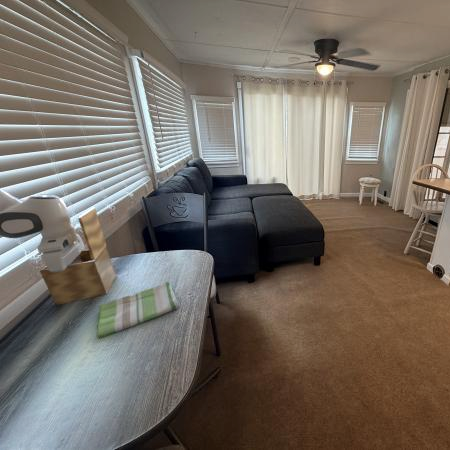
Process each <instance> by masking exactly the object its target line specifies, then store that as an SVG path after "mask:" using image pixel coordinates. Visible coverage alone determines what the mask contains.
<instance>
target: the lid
mask: <svg viewBox="0 0 450 450" xmlns="http://www.w3.org/2000/svg"><path fill="white" fill-rule="evenodd" d="M77 219H78V222H79V225H80V228H81V231H82V234H83V237H84V240H85V242H86V246H87V248H88V249H89V252H90V255H91V258H92V260H95V259H96V258H97V257H98V255H99V254H100V253H101V251H102V250H103V249H104V248H105V247H107V242H106V240H105V236H104V233H103V229H102V227H101V223H100V220H99V216H98V213H97V211H96V207H91V208H90V209H88V210H87V211H85V212H84V213H82V214H81V215H79V217H78V218H77Z"/></svg>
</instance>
